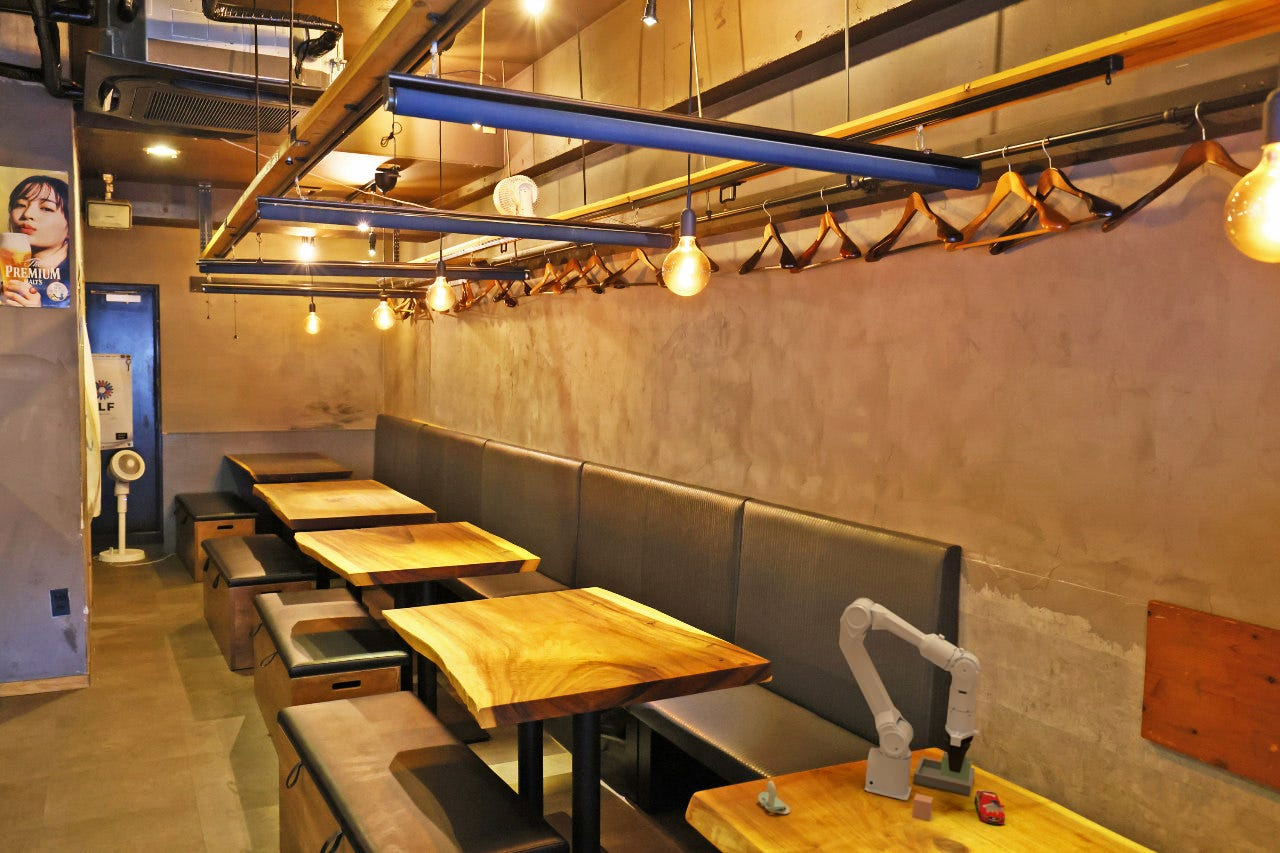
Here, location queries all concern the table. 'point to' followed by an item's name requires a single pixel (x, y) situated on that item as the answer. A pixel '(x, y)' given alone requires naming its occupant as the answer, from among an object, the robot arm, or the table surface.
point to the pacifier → (772, 800)
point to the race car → (989, 807)
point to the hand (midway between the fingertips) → (955, 768)
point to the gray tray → (940, 778)
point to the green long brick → (963, 774)
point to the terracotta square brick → (922, 807)
